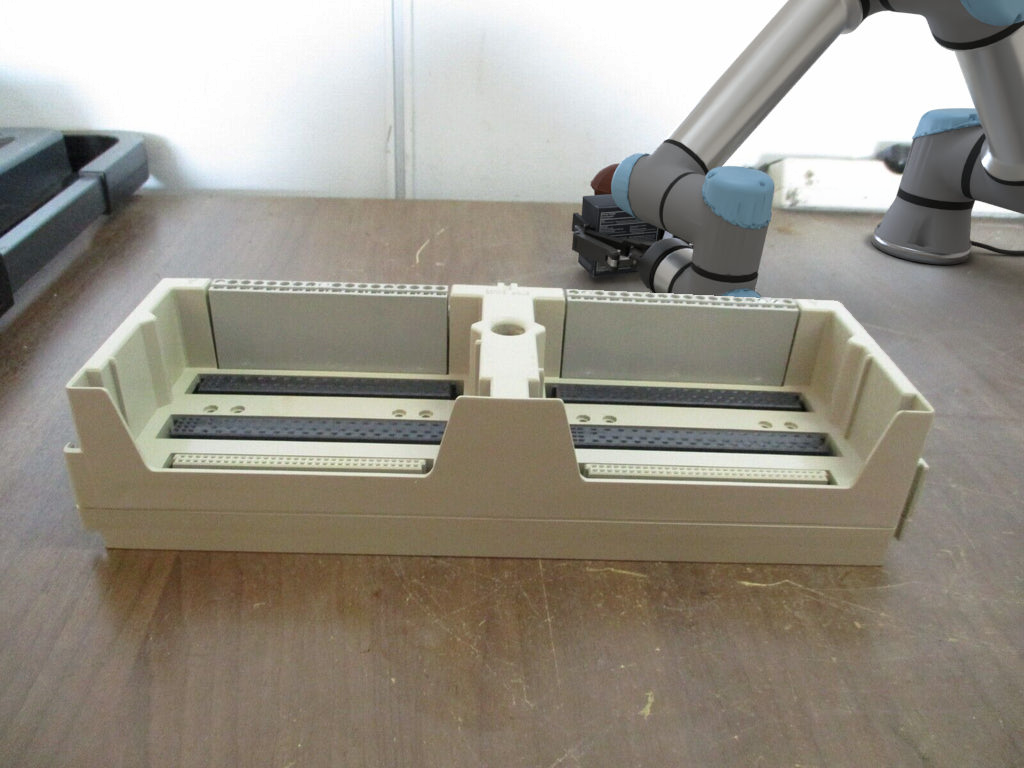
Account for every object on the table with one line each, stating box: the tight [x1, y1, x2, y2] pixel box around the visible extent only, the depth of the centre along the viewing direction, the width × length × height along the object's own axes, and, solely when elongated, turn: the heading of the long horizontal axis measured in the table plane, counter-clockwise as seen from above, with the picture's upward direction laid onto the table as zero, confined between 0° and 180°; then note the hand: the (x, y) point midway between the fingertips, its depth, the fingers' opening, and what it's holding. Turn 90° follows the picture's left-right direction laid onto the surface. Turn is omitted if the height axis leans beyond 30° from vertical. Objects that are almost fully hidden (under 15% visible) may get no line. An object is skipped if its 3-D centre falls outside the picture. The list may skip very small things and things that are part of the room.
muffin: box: [590, 162, 621, 195], centre depth 135 cm, size 12×11×10 cm
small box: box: [577, 194, 661, 278], centre depth 113 cm, size 11×6×10 cm, turn 107°
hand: (609, 219), depth 116 cm, fingers closed on small box, 10 cm apart
